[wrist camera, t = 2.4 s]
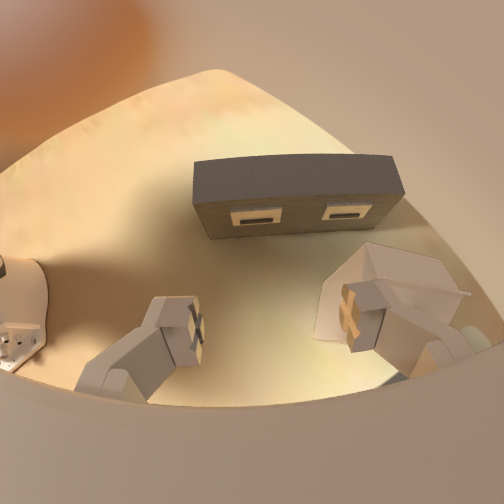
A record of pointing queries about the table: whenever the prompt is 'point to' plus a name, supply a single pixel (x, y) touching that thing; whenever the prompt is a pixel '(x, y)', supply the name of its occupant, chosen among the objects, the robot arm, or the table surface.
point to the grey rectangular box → (294, 193)
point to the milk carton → (400, 280)
